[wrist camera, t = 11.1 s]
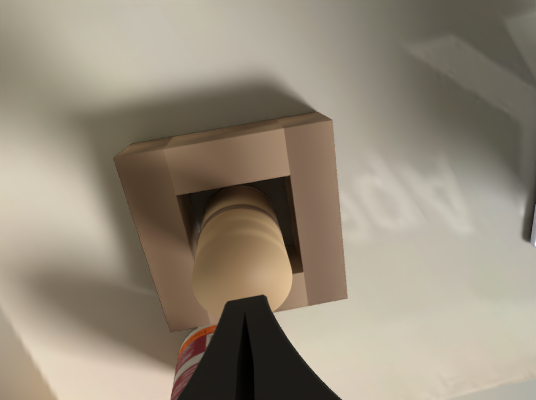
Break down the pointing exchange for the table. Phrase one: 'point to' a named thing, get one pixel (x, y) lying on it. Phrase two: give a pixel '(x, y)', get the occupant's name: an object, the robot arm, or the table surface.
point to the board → (227, 174)
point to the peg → (240, 251)
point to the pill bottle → (191, 356)
